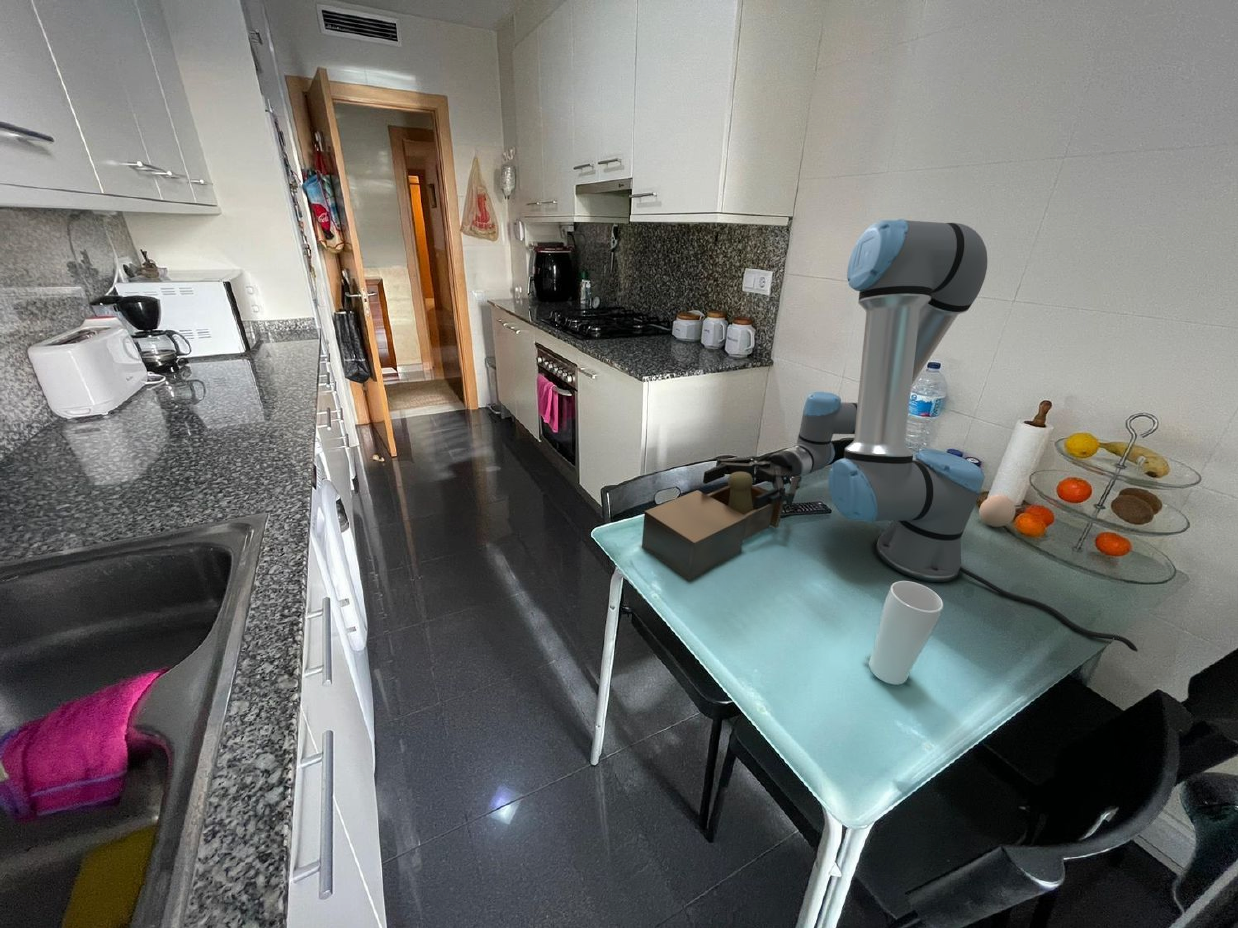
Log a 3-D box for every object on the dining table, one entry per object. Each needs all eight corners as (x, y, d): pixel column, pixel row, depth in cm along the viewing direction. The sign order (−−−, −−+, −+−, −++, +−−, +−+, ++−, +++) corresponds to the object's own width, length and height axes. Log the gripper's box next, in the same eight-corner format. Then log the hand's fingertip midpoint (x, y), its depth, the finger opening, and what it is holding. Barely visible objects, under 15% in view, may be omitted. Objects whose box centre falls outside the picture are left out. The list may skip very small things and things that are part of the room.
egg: (977, 514, 122) (989, 486, 119) (1010, 525, 118) (1023, 496, 115) (971, 524, 118) (983, 495, 115) (1005, 536, 114) (1018, 506, 110)
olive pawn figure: (751, 527, 106) (751, 479, 102) (723, 524, 109) (722, 477, 105) (757, 516, 111) (757, 469, 108) (730, 513, 114) (729, 467, 110)
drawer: (746, 497, 123) (751, 473, 120) (790, 520, 114) (796, 494, 111) (693, 522, 111) (696, 495, 108) (737, 548, 103) (742, 520, 100)
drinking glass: (856, 671, 76) (883, 594, 70) (871, 648, 81) (898, 573, 74) (904, 698, 72) (937, 619, 66) (917, 672, 77) (949, 595, 70)
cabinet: (693, 523, 113) (697, 489, 109) (741, 552, 103) (748, 516, 100) (641, 546, 103) (644, 511, 100) (689, 580, 94) (694, 543, 90)
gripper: (746, 433, 124) (687, 453, 111) (841, 470, 107) (784, 498, 94) (742, 461, 127) (684, 483, 114) (833, 501, 110) (776, 532, 97)
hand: (729, 490), depth 104 cm, fingers open, 13 cm apart
